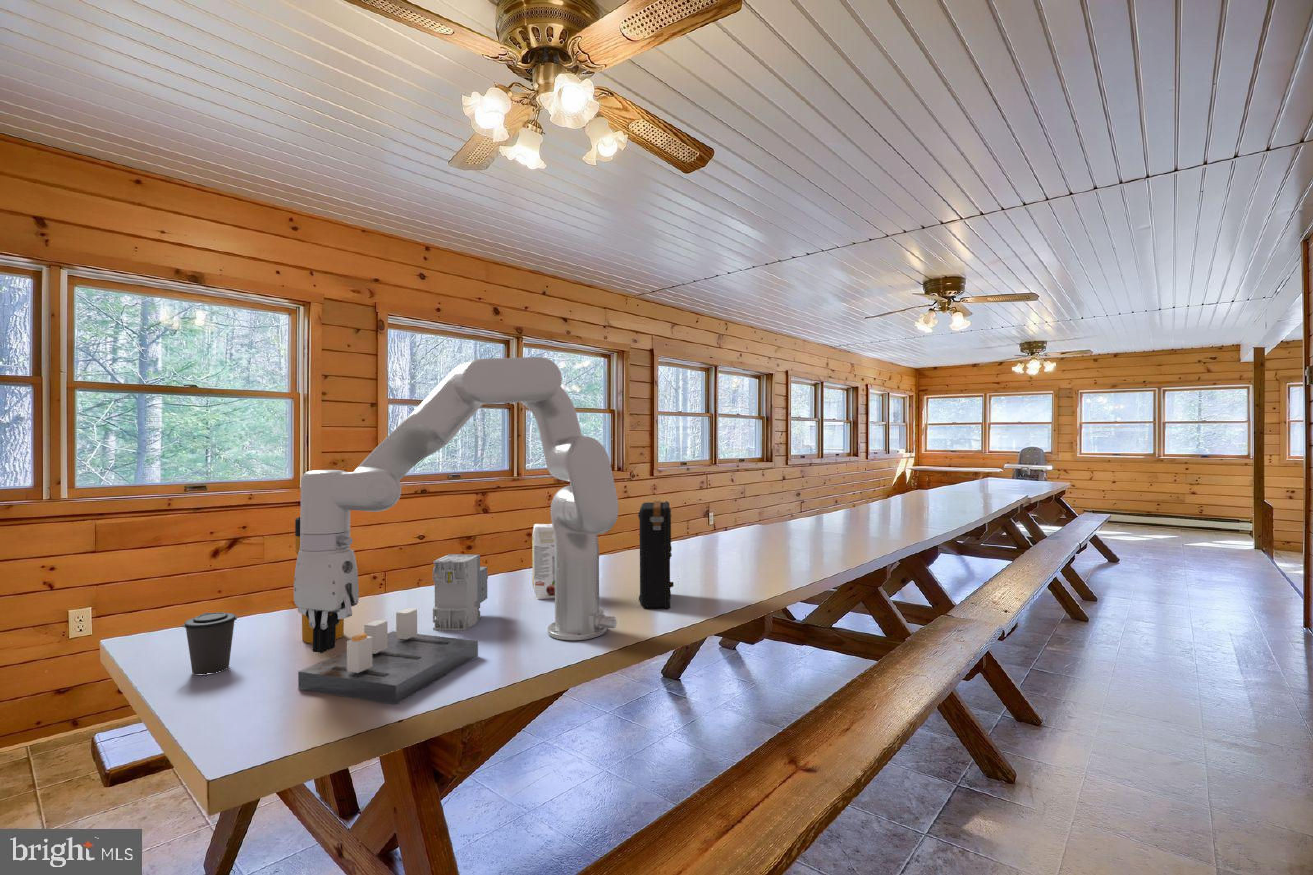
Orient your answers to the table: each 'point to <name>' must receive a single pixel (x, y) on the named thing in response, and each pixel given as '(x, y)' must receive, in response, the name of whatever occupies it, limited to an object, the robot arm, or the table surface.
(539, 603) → the table surface
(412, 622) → the block
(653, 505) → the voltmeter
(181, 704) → the table surface
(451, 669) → the grey slider panel
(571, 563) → the robot arm
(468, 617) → the circuit breaker
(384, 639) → the block
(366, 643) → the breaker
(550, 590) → the juice carton
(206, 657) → the coffee cup
